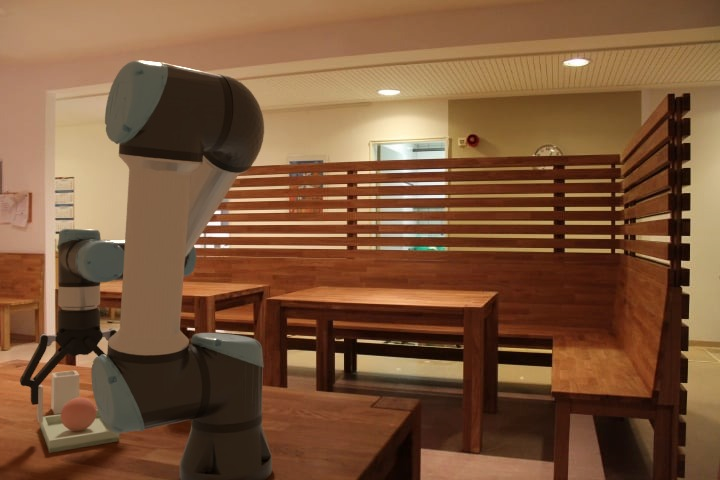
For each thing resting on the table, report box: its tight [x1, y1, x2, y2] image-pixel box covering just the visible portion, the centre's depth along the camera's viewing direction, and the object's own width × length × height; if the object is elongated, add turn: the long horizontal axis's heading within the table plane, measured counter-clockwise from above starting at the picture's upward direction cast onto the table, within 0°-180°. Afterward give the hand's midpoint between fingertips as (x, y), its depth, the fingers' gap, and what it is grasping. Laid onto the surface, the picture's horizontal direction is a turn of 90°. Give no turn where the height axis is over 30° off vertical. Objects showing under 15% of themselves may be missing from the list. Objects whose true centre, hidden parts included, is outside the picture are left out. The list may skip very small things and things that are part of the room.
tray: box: [39, 408, 120, 453], centre depth 120 cm, size 16×12×2 cm
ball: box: [60, 396, 97, 431], centre depth 120 cm, size 6×6×6 cm
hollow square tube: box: [50, 370, 80, 415], centre depth 136 cm, size 5×5×8 cm
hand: (78, 415), depth 120 cm, fingers open, 13 cm apart
